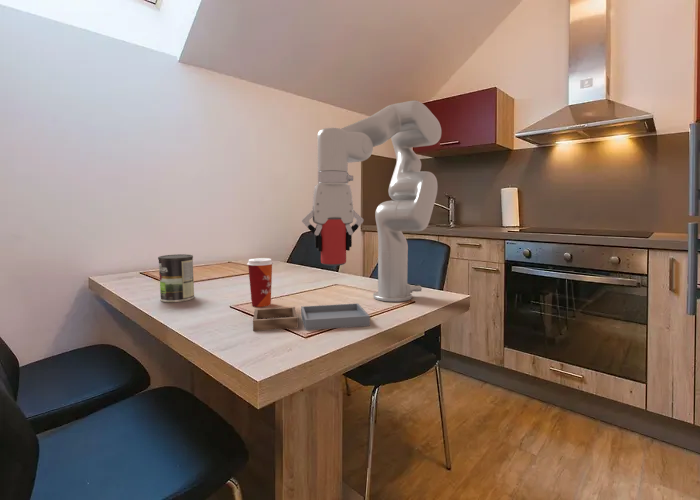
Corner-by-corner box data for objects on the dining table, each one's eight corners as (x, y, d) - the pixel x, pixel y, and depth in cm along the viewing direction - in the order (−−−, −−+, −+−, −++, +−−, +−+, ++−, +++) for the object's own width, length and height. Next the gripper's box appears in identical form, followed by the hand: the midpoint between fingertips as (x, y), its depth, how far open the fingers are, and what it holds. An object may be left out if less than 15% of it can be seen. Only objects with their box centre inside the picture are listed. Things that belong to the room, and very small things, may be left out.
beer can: (316, 265, 95) (315, 217, 93) (327, 261, 101) (326, 217, 100) (340, 266, 92) (339, 217, 91) (350, 263, 98) (349, 217, 97)
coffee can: (166, 304, 116) (163, 259, 114) (156, 298, 123) (153, 256, 122) (199, 298, 123) (197, 256, 121) (188, 293, 130) (186, 253, 129)
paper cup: (271, 308, 111) (269, 261, 109) (245, 307, 111) (243, 261, 110) (276, 301, 119) (275, 257, 117) (252, 301, 119) (251, 257, 117)
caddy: (295, 315, 102) (294, 307, 102) (297, 327, 92) (297, 317, 92) (255, 318, 100) (254, 309, 100) (253, 330, 90) (252, 320, 90)
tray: (358, 312, 106) (358, 303, 106) (369, 325, 94) (369, 316, 93) (301, 315, 103) (301, 306, 103) (305, 330, 90) (305, 320, 90)
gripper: (362, 181, 100) (362, 248, 102) (297, 180, 96) (298, 249, 98) (369, 179, 92) (369, 251, 94) (299, 178, 89) (300, 253, 91)
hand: (333, 249), depth 96 cm, fingers closed on beer can, 6 cm apart
